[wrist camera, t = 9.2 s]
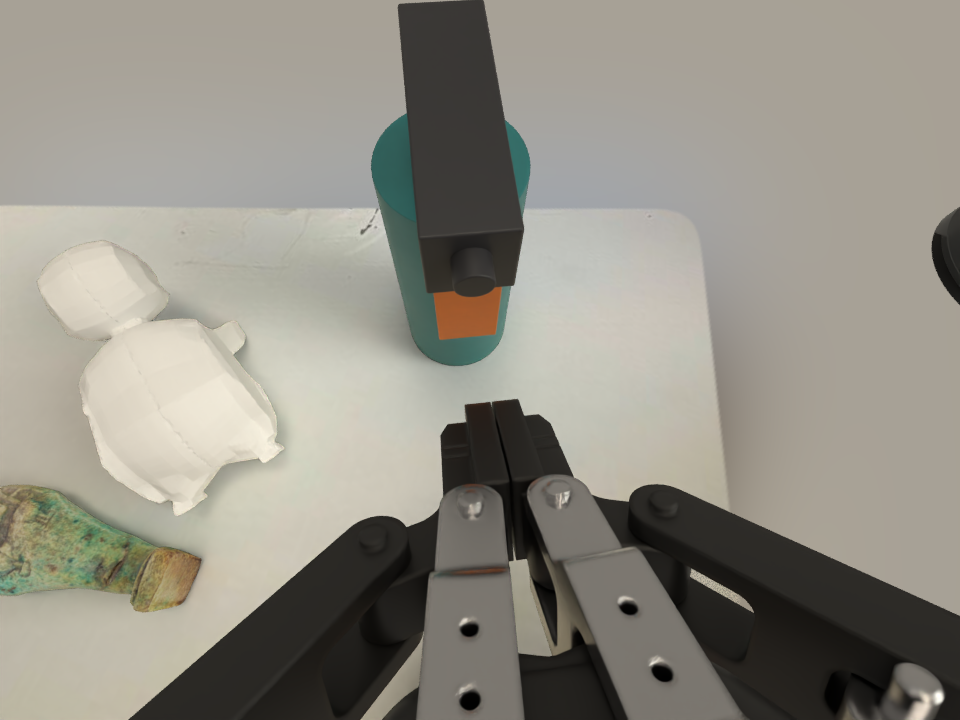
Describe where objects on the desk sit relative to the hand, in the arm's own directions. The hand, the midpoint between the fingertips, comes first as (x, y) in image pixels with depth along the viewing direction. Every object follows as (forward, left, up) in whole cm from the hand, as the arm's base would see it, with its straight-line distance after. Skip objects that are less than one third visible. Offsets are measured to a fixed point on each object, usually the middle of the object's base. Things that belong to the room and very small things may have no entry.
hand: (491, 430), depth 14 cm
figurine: (+20, +12, -17) cm, 29 cm away
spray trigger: (+3, -5, -6) cm, 8 cm away
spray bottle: (+5, -8, -17) cm, 19 cm away
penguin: (+19, +2, -17) cm, 26 cm away
